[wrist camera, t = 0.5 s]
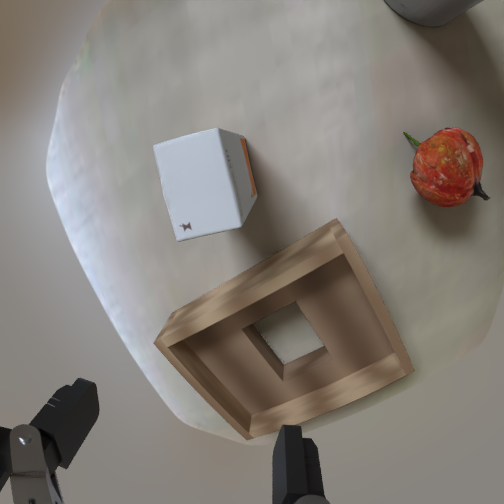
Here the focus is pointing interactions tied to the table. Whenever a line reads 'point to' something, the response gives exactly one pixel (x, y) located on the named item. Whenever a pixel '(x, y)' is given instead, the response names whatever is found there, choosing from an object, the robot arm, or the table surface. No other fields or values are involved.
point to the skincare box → (206, 182)
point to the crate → (261, 355)
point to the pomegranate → (448, 168)
